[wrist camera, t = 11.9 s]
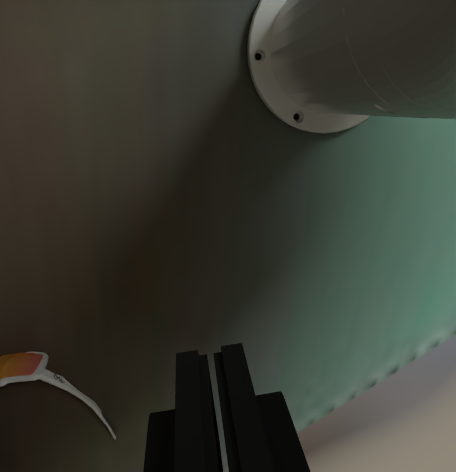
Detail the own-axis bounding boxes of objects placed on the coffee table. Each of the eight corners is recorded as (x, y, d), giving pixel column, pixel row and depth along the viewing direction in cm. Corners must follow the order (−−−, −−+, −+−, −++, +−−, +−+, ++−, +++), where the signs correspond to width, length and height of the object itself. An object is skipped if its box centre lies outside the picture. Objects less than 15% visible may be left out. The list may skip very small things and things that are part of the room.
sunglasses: (33, 319, 36) (17, 357, 32) (133, 410, 43) (132, 452, 38) (-92, 397, 37) (-124, 445, 33) (26, 474, 44) (13, 522, 39)
